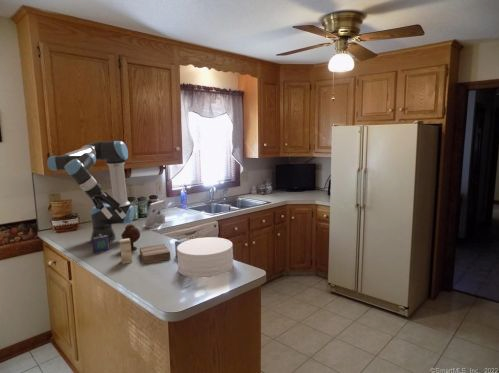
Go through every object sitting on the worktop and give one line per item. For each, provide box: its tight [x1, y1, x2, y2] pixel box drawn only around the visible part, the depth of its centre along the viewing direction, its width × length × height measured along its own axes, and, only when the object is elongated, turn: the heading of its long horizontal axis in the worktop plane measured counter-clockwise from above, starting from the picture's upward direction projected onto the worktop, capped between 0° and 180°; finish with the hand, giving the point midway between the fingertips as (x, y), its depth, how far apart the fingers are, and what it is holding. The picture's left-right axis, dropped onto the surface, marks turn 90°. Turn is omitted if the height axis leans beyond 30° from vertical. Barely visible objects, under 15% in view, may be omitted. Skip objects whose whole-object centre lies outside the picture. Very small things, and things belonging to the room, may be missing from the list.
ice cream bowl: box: [121, 223, 141, 252], centre depth 205 cm, size 11×11×15 cm
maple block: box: [119, 238, 133, 265], centre depth 185 cm, size 5×5×12 cm
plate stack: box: [176, 236, 234, 279], centre depth 175 cm, size 28×28×12 cm
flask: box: [91, 234, 110, 254], centre depth 203 cm, size 9×3×11 cm, turn 138°
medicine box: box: [174, 237, 191, 258], centre depth 193 cm, size 8×4×9 cm, turn 141°
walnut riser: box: [139, 243, 171, 264], centre depth 192 cm, size 16×14×4 cm
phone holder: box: [141, 200, 167, 229], centre depth 261 cm, size 17×10×18 cm, turn 155°
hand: (117, 217), depth 182 cm, fingers open, 13 cm apart
